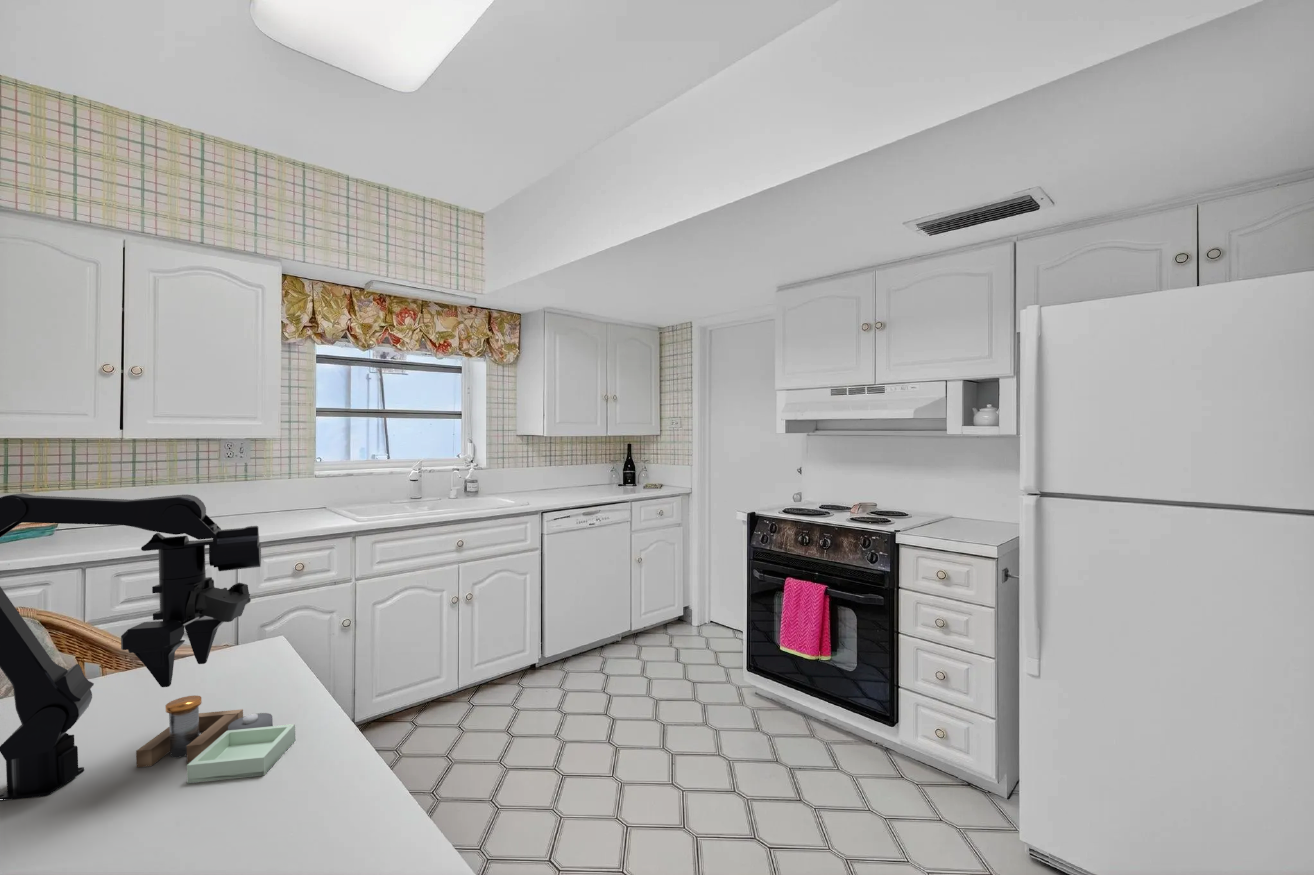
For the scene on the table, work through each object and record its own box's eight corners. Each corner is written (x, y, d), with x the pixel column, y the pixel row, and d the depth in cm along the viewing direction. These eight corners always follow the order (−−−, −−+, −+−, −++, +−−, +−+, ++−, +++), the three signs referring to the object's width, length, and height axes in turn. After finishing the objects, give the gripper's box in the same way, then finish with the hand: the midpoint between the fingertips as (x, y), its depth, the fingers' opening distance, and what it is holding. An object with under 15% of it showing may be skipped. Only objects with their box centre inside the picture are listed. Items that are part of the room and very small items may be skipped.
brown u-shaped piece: (136, 767, 88) (136, 750, 88) (186, 729, 100) (186, 714, 100) (201, 760, 90) (201, 744, 90) (243, 723, 101) (242, 709, 101)
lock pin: (160, 760, 90) (158, 709, 90) (178, 745, 95) (177, 696, 95) (192, 757, 91) (190, 706, 91) (209, 742, 95) (207, 694, 95)
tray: (187, 783, 84) (186, 765, 84) (227, 746, 94) (226, 730, 94) (264, 775, 85) (263, 757, 85) (295, 740, 95) (295, 724, 95)
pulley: (220, 747, 93) (219, 727, 93) (240, 729, 99) (240, 710, 99) (261, 743, 94) (261, 723, 94) (279, 725, 100) (279, 706, 100)
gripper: (205, 586, 85) (207, 695, 85) (267, 560, 103) (269, 649, 103) (117, 591, 83) (119, 702, 83) (196, 564, 102) (198, 654, 102)
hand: (185, 674), depth 93 cm, fingers open, 9 cm apart
